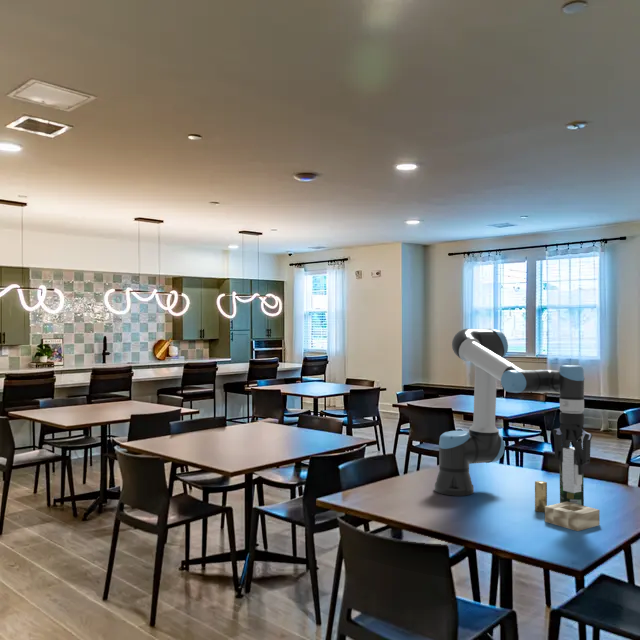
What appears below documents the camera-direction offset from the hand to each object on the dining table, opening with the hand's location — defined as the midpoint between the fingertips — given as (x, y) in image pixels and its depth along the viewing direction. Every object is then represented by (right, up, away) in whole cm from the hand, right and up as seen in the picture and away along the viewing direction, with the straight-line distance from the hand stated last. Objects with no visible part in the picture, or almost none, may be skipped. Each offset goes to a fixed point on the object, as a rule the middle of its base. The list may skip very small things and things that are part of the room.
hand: (572, 482), depth 203 cm
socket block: (0, -13, 0) cm, 13 cm away
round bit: (-5, -14, +14) cm, 21 cm away
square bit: (0, -3, 0) cm, 3 cm away
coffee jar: (+7, -14, +18) cm, 24 cm away
